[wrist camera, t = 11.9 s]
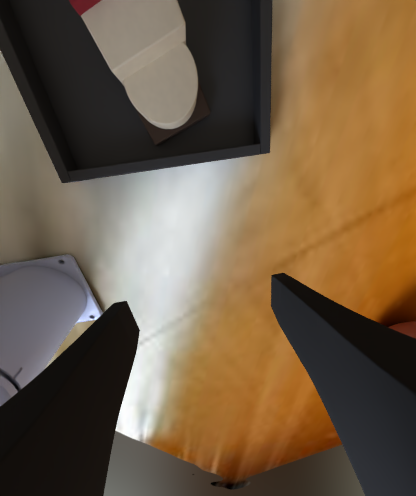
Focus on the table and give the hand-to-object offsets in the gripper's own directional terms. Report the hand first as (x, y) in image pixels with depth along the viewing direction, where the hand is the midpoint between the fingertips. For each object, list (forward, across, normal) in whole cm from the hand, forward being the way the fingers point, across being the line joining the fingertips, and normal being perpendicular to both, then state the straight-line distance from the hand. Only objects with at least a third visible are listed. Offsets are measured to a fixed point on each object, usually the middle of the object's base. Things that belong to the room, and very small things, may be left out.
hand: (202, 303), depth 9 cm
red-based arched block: (+9, +1, -12) cm, 15 cm away
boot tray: (+9, +1, -12) cm, 15 cm away
